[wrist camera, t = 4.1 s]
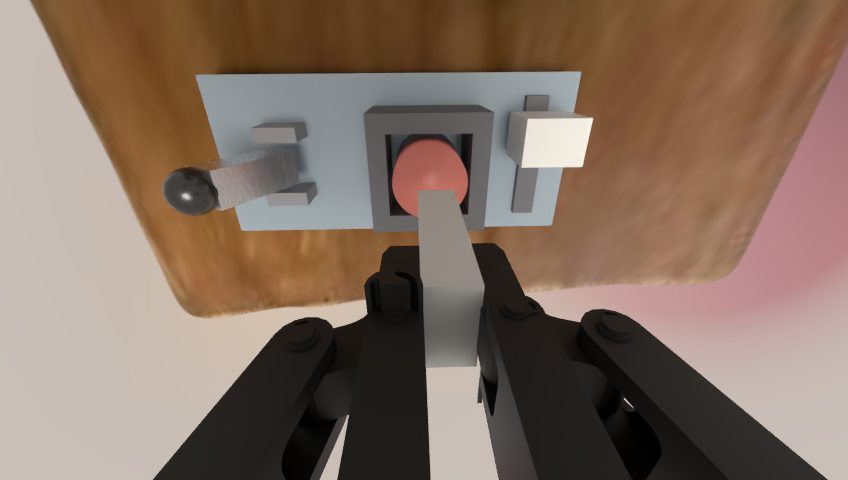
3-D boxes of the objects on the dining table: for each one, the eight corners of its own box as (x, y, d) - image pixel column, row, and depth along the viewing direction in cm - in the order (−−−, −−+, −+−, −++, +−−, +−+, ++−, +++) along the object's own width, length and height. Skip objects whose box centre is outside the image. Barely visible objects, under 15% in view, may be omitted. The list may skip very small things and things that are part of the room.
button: (395, 130, 23) (390, 146, 19) (458, 129, 24) (470, 145, 19) (398, 191, 26) (394, 219, 21) (456, 190, 26) (465, 218, 21)
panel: (218, 74, 25) (140, 75, 18) (564, 71, 26) (621, 71, 18) (256, 216, 31) (209, 260, 23) (540, 212, 31) (577, 253, 24)
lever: (268, 144, 24) (143, 170, 18) (295, 147, 23) (171, 177, 16) (276, 181, 25) (163, 217, 19) (302, 186, 24) (190, 227, 18)
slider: (510, 111, 23) (527, 118, 20) (565, 110, 23) (593, 118, 20) (505, 153, 25) (521, 167, 21) (558, 153, 25) (582, 166, 21)
